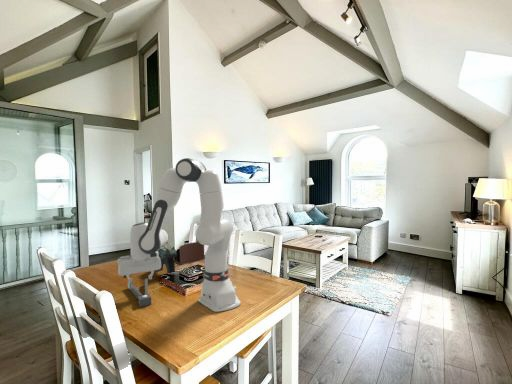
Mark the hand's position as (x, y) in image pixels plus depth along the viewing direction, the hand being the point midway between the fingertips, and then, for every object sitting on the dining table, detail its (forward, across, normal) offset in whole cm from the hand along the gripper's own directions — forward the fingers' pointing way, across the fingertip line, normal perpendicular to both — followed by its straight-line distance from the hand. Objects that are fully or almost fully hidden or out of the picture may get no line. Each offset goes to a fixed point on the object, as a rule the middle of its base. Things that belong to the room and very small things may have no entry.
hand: (140, 280), depth 135 cm
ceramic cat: (+8, +18, +28) cm, 34 cm away
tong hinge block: (+7, 0, -12) cm, 14 cm away
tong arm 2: (+7, +3, +2) cm, 8 cm away
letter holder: (+8, +39, +45) cm, 60 cm away
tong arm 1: (+7, -3, +2) cm, 8 cm away
